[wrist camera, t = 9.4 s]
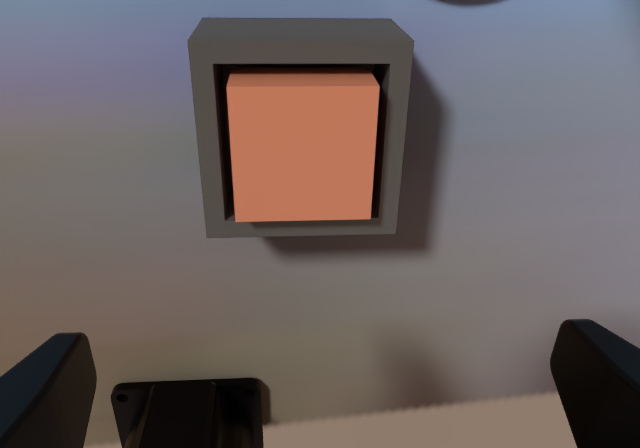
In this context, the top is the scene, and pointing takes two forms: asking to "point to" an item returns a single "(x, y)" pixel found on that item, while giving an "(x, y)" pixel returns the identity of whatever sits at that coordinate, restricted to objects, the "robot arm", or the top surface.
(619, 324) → the top surface
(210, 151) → the button housing
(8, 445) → the robot arm
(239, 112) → the button
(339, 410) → the top surface
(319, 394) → the top surface
